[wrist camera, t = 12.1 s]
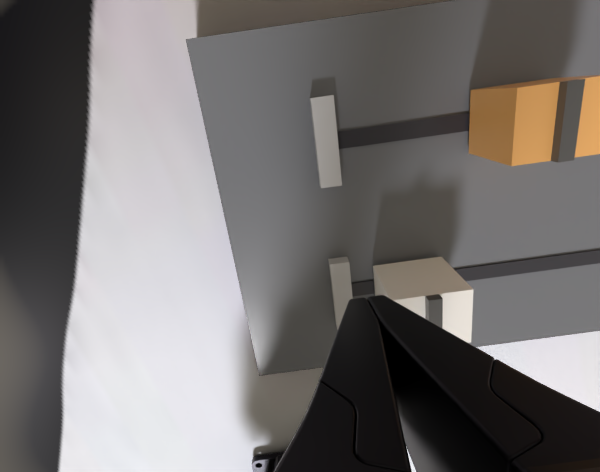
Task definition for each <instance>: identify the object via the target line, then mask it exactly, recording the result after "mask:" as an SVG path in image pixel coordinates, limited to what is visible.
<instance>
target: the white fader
mask: <svg viewBox="0 0 600 472" xmlns="http://www.w3.org/2000/svg"><path fill="white" fill-rule="evenodd" d="M373 273H374V288H375V296H377V295H384V296H386V297H388V298H390V299H392V300H393V301H395V302H397V303H399V304H400V305H402V306H404V307H406V308H407V309H409V310H411V311H413V312H414V313H416V314H418V315H420V316H422V317H423V318H425V319H427V320H429V321H430V322H432V323H434V324H436V325H437V326H439V327H441V328H443V329H444V330H446V331H448V332H450V333H451V334H453V335H455V336H457V337H458V338H460V339H462V340H464V341H465V342H467V343H471V335H472V312H473V288H472V287H471V286H470V285H469V284H468V283H467V282H466V281H465V280H464V279H463V278H462V277H461V276H460V275H459V274H458V273H457V272H456V271H455V270H454V269H453V268H452V267H451V266H450V265H449V264H448V263H447V262H446V261H445V260H444V259H443V258H442V257H434V258H427V259H419V260H412V261H405V262H397V263H390V264H383V265H375V266H373Z"/></svg>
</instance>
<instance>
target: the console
mask: <svg viewBox="0 0 600 472" xmlns="http://www.w3.org/2000/svg"><path fill="white" fill-rule="evenodd" d="M186 43H187V47H188V52H189V56H190V61H191V65H192V70H193V75H194V79H195V84H196V88H197V93H198V97H199V102H200V107H201V111H202V116H203V120H204V125H205V129H206V134H207V139H208V143H209V148H210V152H211V157H212V161H213V166H214V171H215V175H216V180H217V184H218V189H219V193H220V198H221V203H222V207H223V212H224V216H225V221H226V225H227V230H228V235H229V239H230V244H231V248H232V253H233V257H234V262H235V267H236V271H237V276H238V280H239V285H240V289H241V294H242V299H243V303H244V308H245V312H246V317H247V321H248V326H249V331H250V335H251V340H252V344H253V349H254V353H255V358H256V363H257V367H258V372H259V376H260V375H268V374H275V373H283V372H291V371H298V370H306V369H313V368H321V367H324V366H325V363H326V360H327V358H328V355H329V352H330V350H331V347H332V344H333V342H334V339H335V336H336V334H337V331H338V328H339V325H340V323H341V320H342V317H343V315H344V312H345V309H346V307H347V304H348V301H349V300H350V299H355V298H362V297H364V298H366V299H367V298H368V297H370V296H375V288H374V273H373V266H375V265H383V264H390V263H397V262H405V261H412V260H419V259H427V258H434V257H442V258H443V259H444V260H445V261H446V262H447V263H448V264H449V265H450V266H451V267H452V268H453V269H454V270H455V271H456V272H457V273H458V274H459V275H460V276H461V277H462V278H463V279H464V280H465V281H466V282H467V283H468V284H469V285H470V286H471V287H472V288H473V312H472V335H471V343H469V344H471V345H473V346H474V347H480V346H487V345H495V344H502V343H510V342H517V341H525V340H533V339H540V338H548V337H555V336H563V335H570V334H578V333H586V332H593V331H600V154H596V155H589V156H582V157H575V158H574V160H573V161H566V162H559V163H558V162H554V161H546V162H539V163H532V164H524V165H517V166H509V165H506V164H502V163H499V162H496V161H492V160H489V159H486V158H483V157H479V156H476V155H473V154H469V124H470V94H471V90H473V89H480V88H487V87H494V86H501V85H508V84H515V83H522V82H529V81H536V80H543V79H550V78H563V77H577V76H590V75H600V0H452V1H445V2H438V3H431V4H424V5H417V6H411V7H404V8H397V9H390V10H383V11H376V12H370V13H363V14H356V15H349V16H342V17H335V18H329V19H322V20H315V21H308V22H301V23H294V24H287V25H281V26H274V27H267V28H260V29H253V30H246V31H240V32H233V33H226V34H219V35H212V36H205V37H199V38H192V39H186Z"/></svg>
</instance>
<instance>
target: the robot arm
mask: <svg viewBox="0 0 600 472" xmlns="http://www.w3.org/2000/svg"><path fill="white" fill-rule="evenodd" d="M406 446H407V448H406ZM407 449H408V451H409V454H410V456H411V459H412V461H413V464H414V466H415V469H416V471H417V472H600V412H599V411H596V410H594V409H592V408H590V407H588V406H586V405H584V404H582V403H580V402H577V401H575V400H573V399H571V398H569V397H567V396H565V395H563V394H561V393H559V392H557V391H555V390H553V389H551V388H549V387H547V386H545V385H543V384H541V383H539V382H537V381H535V380H534V379H532V378H530V377H528V376H526V375H524V374H522V373H521V372H519V371H517V370H515V369H513V368H511V367H510V366H508V365H506V364H504V363H503V362H501V361H499V360H494V358H493V357H492V356H490V355H488V354H487V353H485V352H483V351H481V350H480V349H478V348H476V347H474V346H473V345H471V344H469V343H467V342H465V341H464V340H462V339H460V338H458V337H457V336H455V335H453V334H451V333H450V332H448V331H446V330H444V329H443V328H441V327H439V326H437V325H436V324H434V323H432V322H430V321H429V320H427V319H425V318H423V317H422V316H420V315H418V314H416V313H414V312H413V311H411V310H409V309H407V308H406V307H404V306H402V305H400V304H399V303H397V302H395V301H393V300H392V299H390V298H388V297H386V296H384V295H377V296H370V297H368V298H367V299H366V298H364V297H362V298H355V299H350V300H349V301H348V304H347V307H346V309H345V312H344V315H343V317H342V320H341V323H340V325H339V328H338V331H337V334H336V336H335V339H334V342H333V344H332V347H331V350H330V352H329V355H328V358H327V360H326V363H325V366H324V368H323V371H322V374H321V376H320V379H319V383H318V384H317V387H316V389H315V392H314V395H313V397H312V400H311V402H310V404H309V407H308V409H307V411H306V414H305V416H304V418H303V420H302V422H301V424H300V425H299V427H298V429H297V431H296V433H295V435H294V437H293V439H292V440H291V442H290V444H289V446H288V447H287V449H286V451H285V452H281V453H273V454H266V455H258V456H255V457H254V458H253V460H252V468H253V472H411V467H410V462H409V458H408V453H407Z"/></svg>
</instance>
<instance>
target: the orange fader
mask: <svg viewBox="0 0 600 472" xmlns="http://www.w3.org/2000/svg"><path fill="white" fill-rule="evenodd" d="M469 154H473V155H476V156H479V157H483V158H486V159H489V160H492V161H496V162H499V163H502V164H506V165H509V166H517V165H524V164H532V163H539V162H546V161H554V162H558V163H559V162H566V161H573V160H574V158H575V157H582V156H589V155H596V154H600V75H590V76H577V77H563V78H550V79H543V80H536V81H529V82H522V83H515V84H508V85H501V86H494V87H487V88H480V89H473V90H471V94H470V124H469Z"/></svg>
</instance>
